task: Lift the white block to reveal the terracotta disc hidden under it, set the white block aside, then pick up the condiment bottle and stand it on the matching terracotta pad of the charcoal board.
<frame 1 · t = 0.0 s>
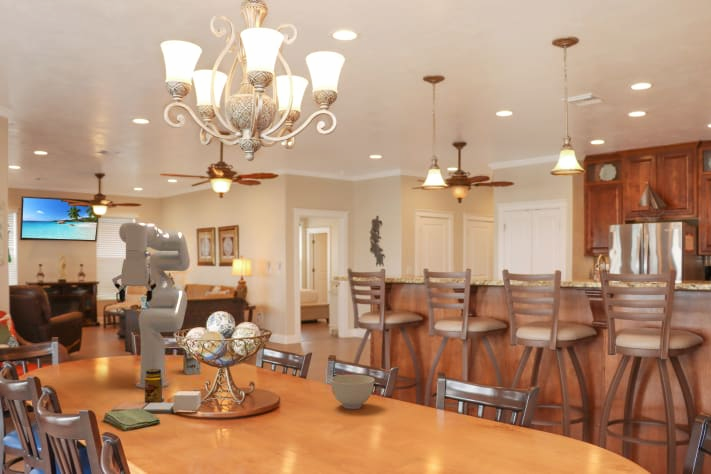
hand: (135, 301, 239), 37 cm above the table, tool pointing down, fingers open, 9 cm apart
coffee box: (191, 372, 290), on the table
board: (145, 409, 225), on the table
bowl: (352, 407, 232), on the table
washcloth: (131, 424, 210), on the table
marker disc: (187, 410, 225), on the table
condiment: (153, 402, 236), on the table
white block: (187, 410, 225), on the table
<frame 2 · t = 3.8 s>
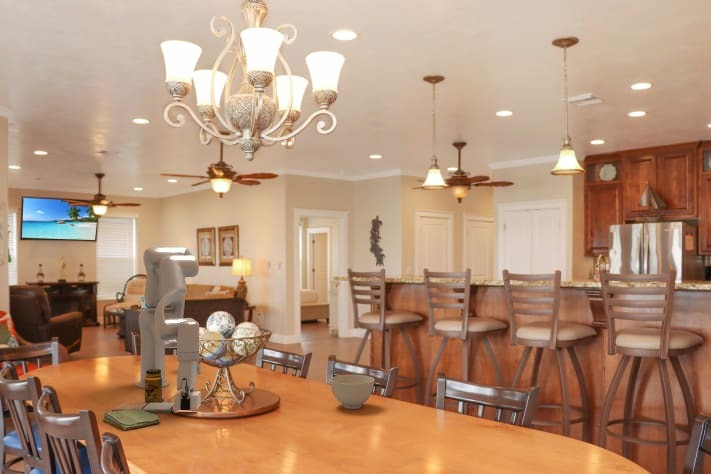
hand: (187, 407, 225), 1 cm above the table, tool pointing down, fingers closed on white block, 6 cm apart
white block: (187, 410, 225), on the table, touching gripper
everything else where it was.
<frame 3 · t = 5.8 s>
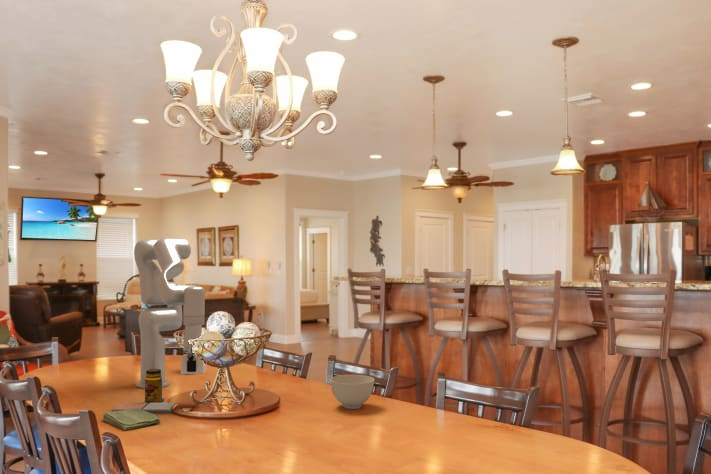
hand: (193, 369, 234), 13 cm above the table, tool pointing down, fingers closed on white block, 6 cm apart
white block: (193, 372, 234), point 12 cm above the table, touching gripper
everything else where it was.
when the fingers open (2 cm above the table, at t = 8.0 s): white block stays where it is, on the table.
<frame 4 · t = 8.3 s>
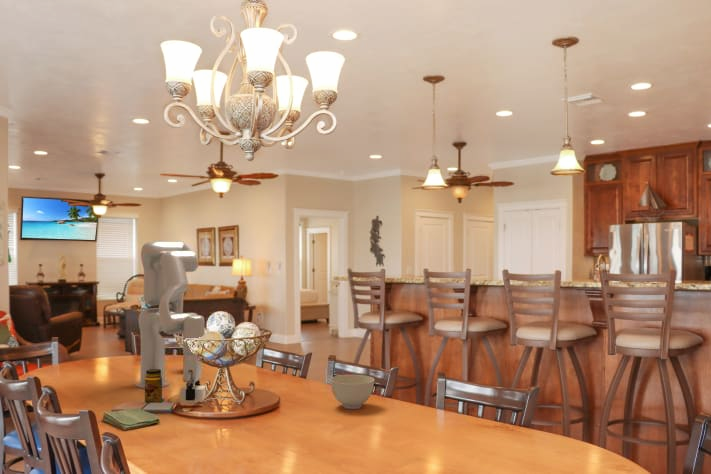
hand: (193, 396, 234), 3 cm above the table, tool pointing down, fingers open, 8 cm apart
white block: (193, 403, 234), on the table
everything else where it was.
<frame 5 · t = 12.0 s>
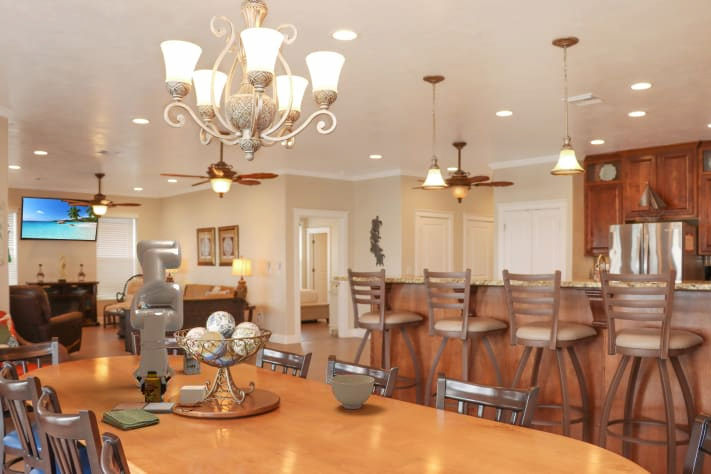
hand: (153, 393, 236), 3 cm above the table, tool pointing down, fingers closed on condiment, 6 cm apart
condiment: (153, 402, 236), on the table, touching gripper
everything else where it was.
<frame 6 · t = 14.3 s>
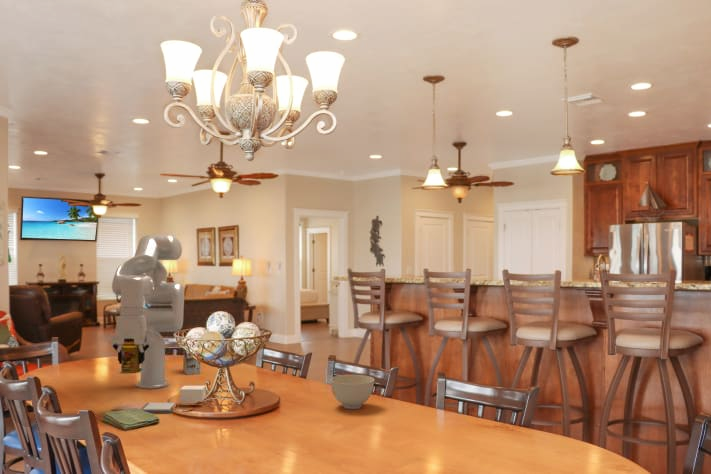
hand: (131, 362, 225), 16 cm above the table, tool pointing down, fingers closed on condiment, 6 cm apart
condiment: (131, 372, 225), point 13 cm above the table, touching gripper
everything else where it was.
when the fingers open (5 cm above the table, at t = 16.7 s): condiment stays where it is, resting on board.
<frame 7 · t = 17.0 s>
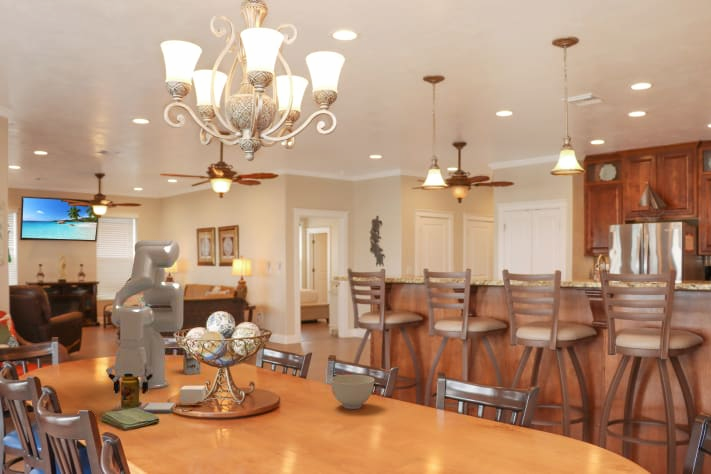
hand: (130, 392, 225), 6 cm above the table, tool pointing down, fingers open, 9 cm apart
condiment: (130, 406, 225), point 1 cm above the table, touching board
everything else where it was.
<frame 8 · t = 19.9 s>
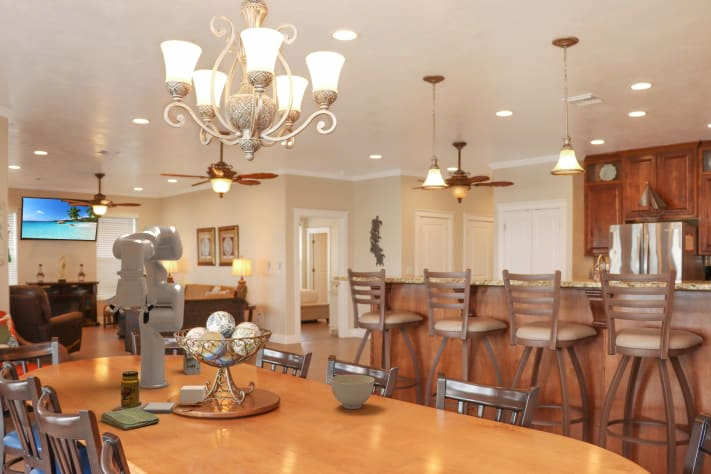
hand: (131, 323, 225), 30 cm above the table, tool pointing down, fingers open, 9 cm apart
nothing on the table moved.
at the end: condiment inside the target area on the board (0.2 cm from its centre), point 1.1 cm above the board's base; condiment tilted 0°; white block moved 9.1 cm from its start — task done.
